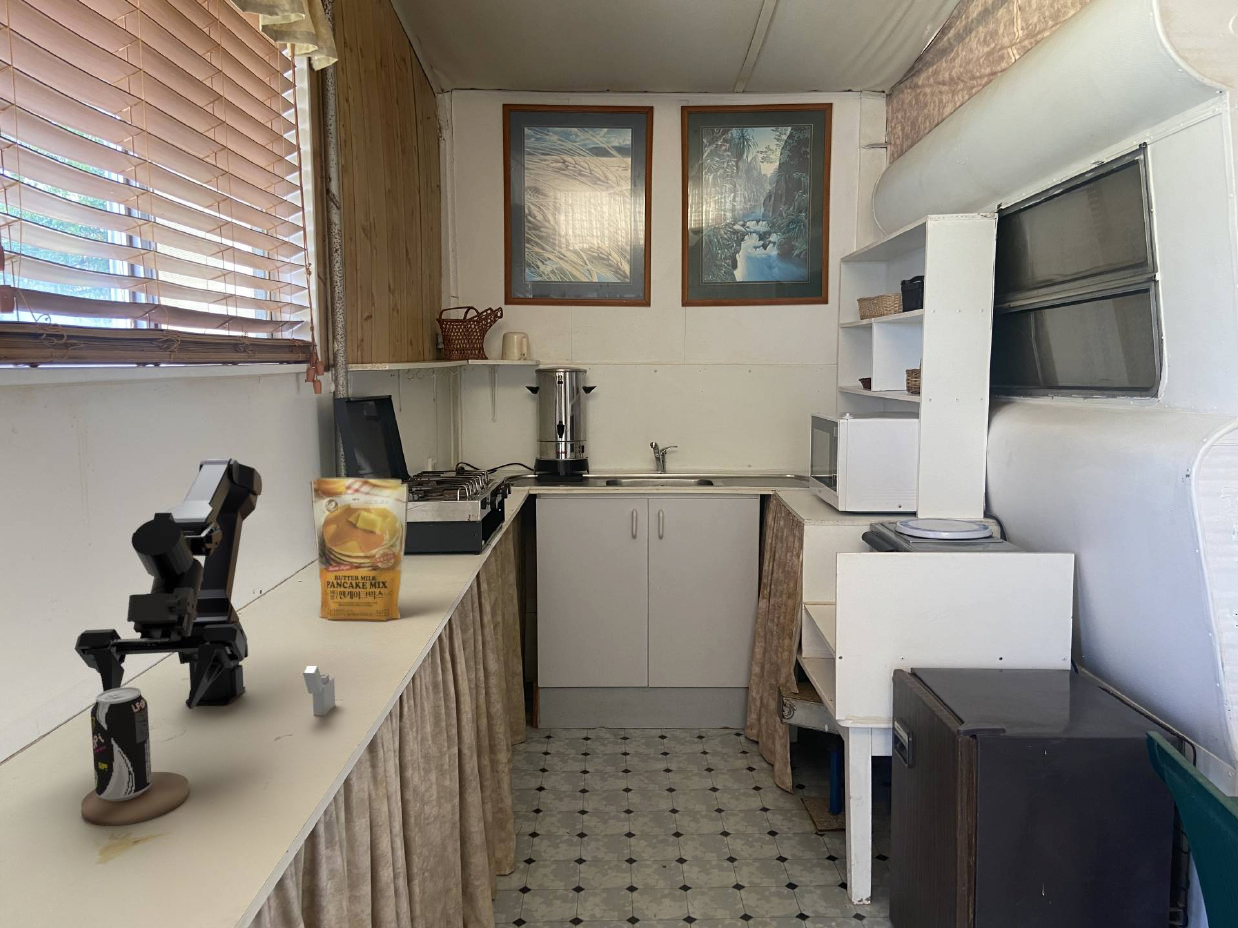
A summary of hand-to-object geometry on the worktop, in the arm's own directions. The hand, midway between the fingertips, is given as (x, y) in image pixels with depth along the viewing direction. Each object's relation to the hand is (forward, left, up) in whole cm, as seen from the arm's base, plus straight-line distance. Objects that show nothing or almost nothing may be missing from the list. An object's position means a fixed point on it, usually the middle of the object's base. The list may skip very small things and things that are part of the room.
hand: (149, 709), depth 109 cm
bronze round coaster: (+1, -6, -9) cm, 10 cm away
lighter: (+13, +21, -9) cm, 26 cm away
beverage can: (0, -6, -8) cm, 10 cm away
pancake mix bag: (+4, +71, -9) cm, 72 cm away
